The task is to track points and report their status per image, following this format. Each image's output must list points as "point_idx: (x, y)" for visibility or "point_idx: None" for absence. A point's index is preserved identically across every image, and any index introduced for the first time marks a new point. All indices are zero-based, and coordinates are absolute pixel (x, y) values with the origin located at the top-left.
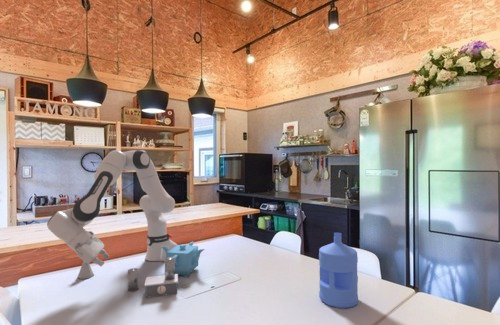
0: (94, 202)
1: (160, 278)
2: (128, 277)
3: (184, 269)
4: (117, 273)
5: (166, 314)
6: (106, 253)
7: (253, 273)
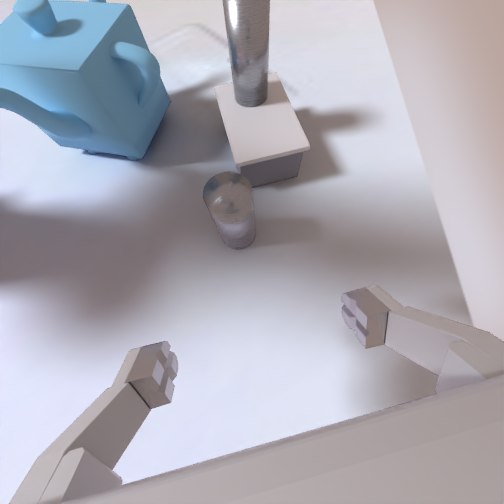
0: None
1: (250, 119)
2: (249, 218)
3: (158, 91)
4: (58, 368)
5: (379, 108)
6: (118, 385)
7: (170, 9)
